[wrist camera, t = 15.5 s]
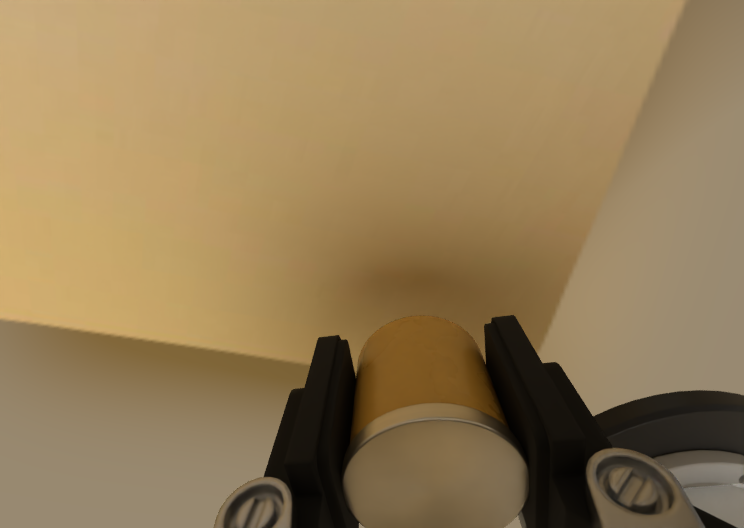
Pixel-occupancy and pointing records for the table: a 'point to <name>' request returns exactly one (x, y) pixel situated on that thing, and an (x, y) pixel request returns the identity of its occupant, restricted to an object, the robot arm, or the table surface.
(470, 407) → the coffee pod
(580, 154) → the table surface
